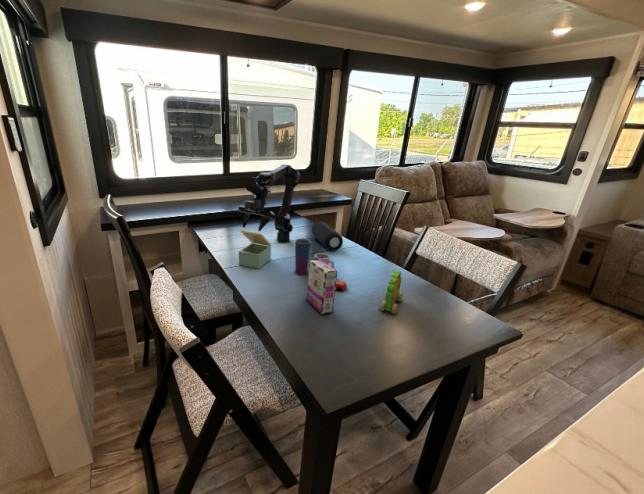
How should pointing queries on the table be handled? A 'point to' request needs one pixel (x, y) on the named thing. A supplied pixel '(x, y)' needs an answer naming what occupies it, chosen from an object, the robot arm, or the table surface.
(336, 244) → the portable speaker
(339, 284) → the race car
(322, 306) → the candy bar box
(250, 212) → the robot arm
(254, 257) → the green hinged box
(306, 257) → the cup
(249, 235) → the lid
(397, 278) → the green toy caterpillar
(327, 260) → the mug
